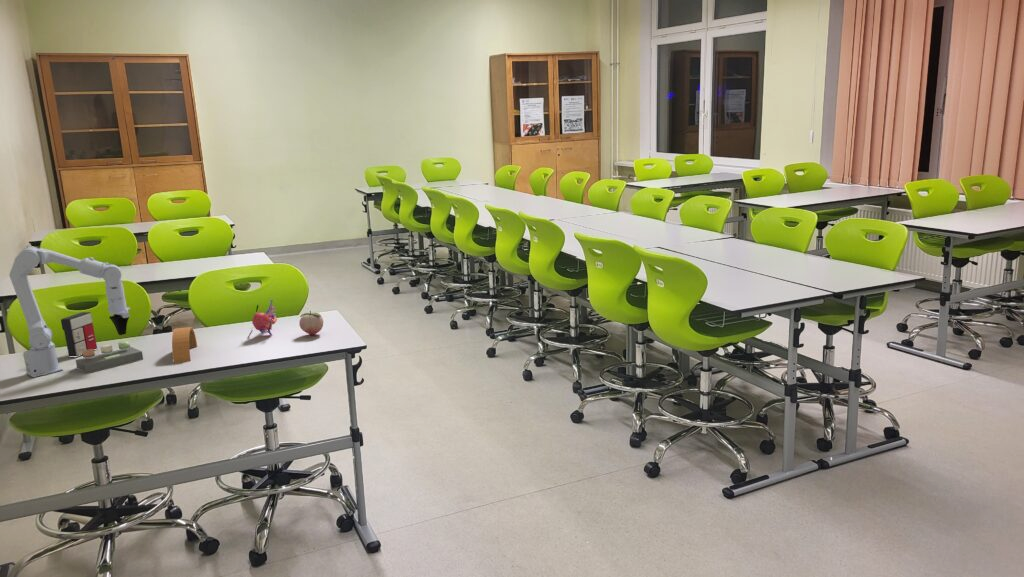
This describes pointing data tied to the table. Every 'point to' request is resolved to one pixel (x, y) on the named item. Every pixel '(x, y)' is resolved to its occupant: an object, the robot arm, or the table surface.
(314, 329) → the decorative fruit
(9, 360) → the table surface
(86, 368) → the button panel
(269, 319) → the heart model
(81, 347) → the grey and red box
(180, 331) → the arch
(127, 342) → the sage button
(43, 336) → the robot arm
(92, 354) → the terracotta button
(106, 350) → the cream button
